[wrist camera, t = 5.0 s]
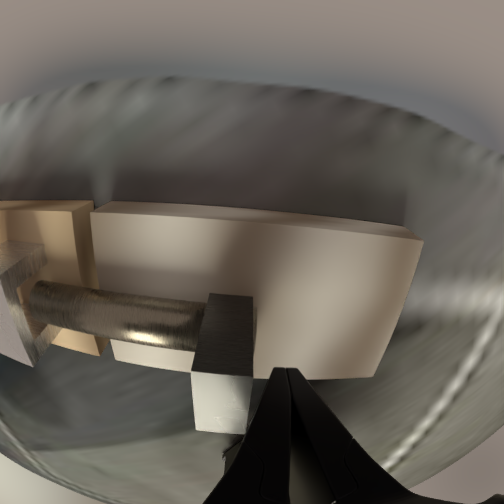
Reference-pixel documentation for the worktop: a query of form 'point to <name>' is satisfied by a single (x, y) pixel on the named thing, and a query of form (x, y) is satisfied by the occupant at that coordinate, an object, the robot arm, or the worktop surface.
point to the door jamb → (231, 275)
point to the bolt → (170, 339)
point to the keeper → (16, 314)
